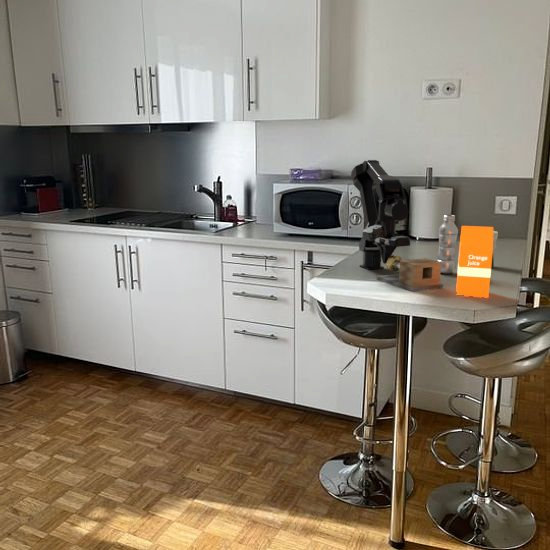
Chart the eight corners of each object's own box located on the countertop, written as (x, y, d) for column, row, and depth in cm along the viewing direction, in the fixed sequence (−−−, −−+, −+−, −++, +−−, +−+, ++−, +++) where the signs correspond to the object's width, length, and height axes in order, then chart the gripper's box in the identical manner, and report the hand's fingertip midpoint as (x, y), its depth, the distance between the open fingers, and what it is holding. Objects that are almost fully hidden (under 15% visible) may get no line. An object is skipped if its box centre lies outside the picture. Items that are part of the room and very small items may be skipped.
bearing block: (376, 279, 180) (377, 255, 178) (406, 275, 185) (407, 252, 183) (411, 291, 164) (413, 265, 162) (442, 287, 169) (444, 262, 167)
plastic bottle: (450, 271, 193) (455, 214, 188) (457, 275, 186) (462, 216, 182) (432, 271, 193) (436, 214, 188) (439, 275, 186) (443, 216, 182)
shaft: (386, 271, 181) (387, 255, 180) (399, 270, 183) (399, 254, 182) (408, 278, 170) (409, 262, 169) (421, 277, 173) (422, 260, 171)
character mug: (500, 269, 196) (504, 233, 193) (481, 269, 195) (484, 233, 192) (487, 263, 206) (490, 229, 203) (468, 263, 206) (471, 229, 203)
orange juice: (455, 289, 167) (461, 224, 163) (486, 291, 165) (492, 225, 160) (456, 295, 160) (461, 227, 156) (488, 298, 157) (495, 228, 153)
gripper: (351, 215, 187) (349, 260, 190) (383, 221, 170) (381, 270, 174) (378, 214, 191) (376, 257, 195) (412, 220, 175) (410, 267, 178)
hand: (385, 263), depth 185 cm, fingers closed
